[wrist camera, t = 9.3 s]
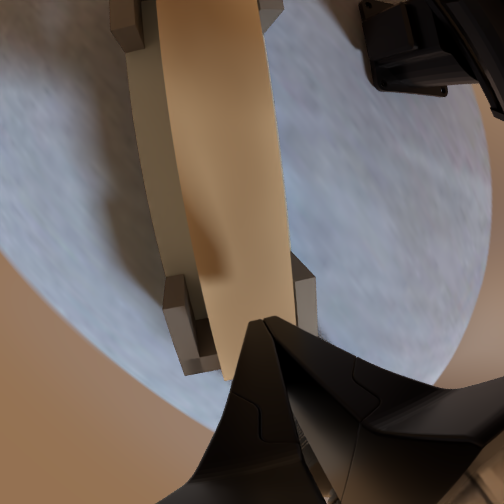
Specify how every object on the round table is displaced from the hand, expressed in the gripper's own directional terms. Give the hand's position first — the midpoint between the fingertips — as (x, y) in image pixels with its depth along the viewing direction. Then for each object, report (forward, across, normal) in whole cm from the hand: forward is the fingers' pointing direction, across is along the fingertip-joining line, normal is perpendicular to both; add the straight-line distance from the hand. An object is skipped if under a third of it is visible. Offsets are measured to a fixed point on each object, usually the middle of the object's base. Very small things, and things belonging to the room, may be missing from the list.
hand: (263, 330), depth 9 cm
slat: (+8, 0, -5) cm, 9 cm away
